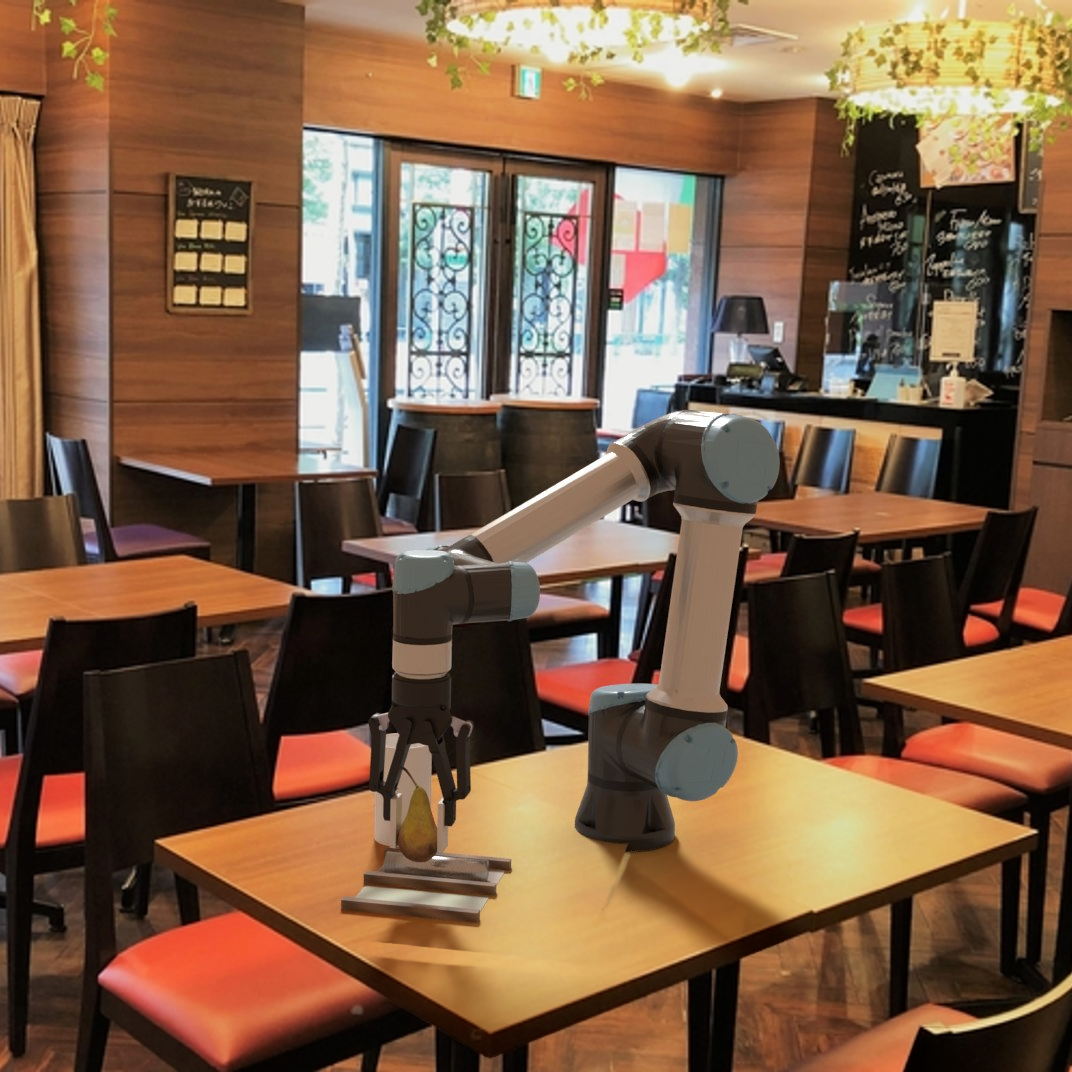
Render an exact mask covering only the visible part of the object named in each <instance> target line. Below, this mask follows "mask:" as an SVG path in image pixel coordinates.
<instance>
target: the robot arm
mask: <svg viewBox="0 0 1072 1072" xmlns="http://www.w3.org/2000/svg"><path fill="white" fill-rule="evenodd" d="M780 463H781V462H780V453H779V449H778V446H777V442H776V441H775V439H774V437H773V436H772V434H771V433H770V431H769V430H768V428H766V426H764V425H763V424H762V423H761V422H760V421H757V420H755V419H753V418H750V417H746V416H743V415H739V414H736V413H722V412H713V411H712V412H711V411H710V412H708V411H700V410H695V409H694V410H692V409H684V410H683V409H682V410H677V411H672V412H669V413H666V414H664V415H661V416H659V417H657V418H655V419H653V420H651V421H649V422H647V423H645V424H642V425H641V426H639V427H638V428H636V429H634V430H632V431H630V432H629V433H627V434H624V435H623V436H622V437H620V438H619V439H618V438H617V440H615V441H613V442H612V443H610V444H608V446H607V450H606V454H604V455H603V456H601V457H600V458H598V459H596V460H595V461H593V462H591V463H590V464H588V465H587V466H585V467H583V468H582V469H579V470H578V471H576V472H575V473H572V474H571V475H570V476H568V477H566V478H564V479H563V480H560V481H559V482H558V483H555V484H554V485H552V486H550V487H549V488H547V489H545V490H544V491H542V492H540V493H539V494H537V495H535V496H533V497H532V498H530V499H528V500H526V501H524V502H523V503H522V504H520V505H518V506H516V507H514V508H513V509H512V510H510V511H508V512H506V513H505V514H503V515H501V516H499V517H498V518H496V519H494V520H492V521H491V522H489V523H487V524H486V525H483V526H482V527H481V528H478V530H476V531H474V532H473V533H470V534H469V535H467V536H465V537H463V538H462V539H459V540H458V541H456V542H454V543H452V544H450V545H446V544H444V545H443V544H441V545H433V546H429V547H427V548H426V549H414V550H406V551H403V552H400V553H399V554H398V555H397V557H396V558H395V561H394V568H393V580H392V586H391V589H392V596H393V598H392V602H393V603H392V606H393V608H392V609H393V612H392V614H393V615H392V616H393V618H392V619H393V620H392V621H393V623H392V624H393V625H392V626H393V627H392V628H393V631H392V661H391V662H392V663H391V664H392V665H391V666H392V669H393V670H394V671H395V672H394V673H393V674H392V677H391V680H392V681H391V706H390V708H389V710H388V712H385V713H381V712H376V713H374V714H373V715H372V716H371V717H369V719H368V720H367V723H368V726H369V730H370V735H371V744H370V746H371V748H370V765H369V778H368V779H369V781H368V783H369V784H368V789H369V791H371V792H372V793H375V792H378V793H380V794H381V795H382V796H383V818H384V820H385V821H390V846H389V848H398V847H397V846H398V841H397V838H398V832H399V829H400V827H401V825H402V793H396V794H395V791H396V790H397V789H398V788H397V786H398V783H399V780H400V777H401V774H402V770H403V767H404V764H405V761H406V757H407V754H408V751H409V748H410V746H411V744H416V743H420V744H423V745H428V748H429V751H430V753H431V754H432V761H433V765H434V769H435V772H436V776H437V779H438V784H439V787H440V791H441V795H442V797H441V799H440V800H439V801H438V803H437V824H436V826H437V852H439V853H445V850H446V849H447V848H448V844H449V827H452V826H453V825H454V824H455V822H456V820H457V801H460V800H461V801H462V800H465V799H466V798H467V797H468V796H469V794H470V793H471V790H472V787H471V786H472V785H471V784H472V781H471V739H470V738H471V735H472V733H473V729H474V728H475V724H474V721H473V720H471V719H468V720H466V721H465V720H463V719H460V718H458V717H456V716H455V713H454V712H453V710H452V706H451V700H452V698H451V697H452V691H451V690H452V675H451V674H450V673H449V671H450V670H451V669H452V655H453V653H452V647H453V643H452V642H453V625H462V624H470V623H471V624H473V623H486V622H487V623H488V622H505V621H507V622H512V621H515V620H521V619H527V618H529V617H531V616H533V615H534V614H535V612H536V611H537V609H538V607H539V604H540V599H541V597H540V594H541V585H540V581H539V580H540V579H539V577H538V574H537V572H536V570H535V569H534V567H533V566H532V565H531V564H530V563H529V562H530V561H532V560H534V559H535V558H537V557H539V556H540V555H542V554H544V553H545V552H548V551H549V550H551V549H552V548H555V546H557V545H559V544H561V543H562V542H564V541H566V540H567V539H569V538H571V537H573V536H574V535H575V534H577V533H579V532H581V531H583V530H584V529H587V528H588V527H589V526H591V525H593V524H594V523H597V522H598V521H599V520H602V519H603V518H604V517H606V516H607V515H609V514H611V513H613V512H614V511H616V510H618V509H619V508H621V507H623V506H624V505H626V504H627V503H629V502H631V501H636V502H645V501H646V500H648V499H649V498H651V497H653V496H655V495H657V494H659V493H663V492H667V491H674V496H673V502H672V505H673V507H674V508H675V510H676V511H677V512H678V513H679V515H680V516H681V517H680V518H681V522H680V523H681V524H680V530H679V531H680V532H679V539H678V546H677V550H676V551H677V552H676V559H675V565H674V572H673V581H672V588H671V593H670V595H671V596H670V603H669V609H668V617H667V623H666V630H665V631H666V632H665V638H664V645H663V653H662V658H661V665H660V666H661V668H660V672H659V680H658V684H656V683H620V684H610V685H604V686H600V687H597V688H596V689H595V690H593V691H592V693H591V694H590V698H589V705H588V712H587V715H588V737H587V738H588V744H587V745H588V746H587V747H588V748H587V781H586V787H585V789H584V792H583V796H582V798H581V801H580V804H579V806H578V809H577V812H576V815H575V818H574V829H575V830H576V831H577V832H578V833H579V834H581V835H583V836H585V837H587V838H590V839H592V840H595V841H600V842H605V843H611V844H619V845H626V847H625V849H624V852H645V851H651V850H652V851H653V850H656V849H660V848H664V847H665V846H668V845H670V844H671V843H672V842H673V841H674V840H675V837H676V836H675V835H676V823H675V819H674V818H675V817H674V815H673V812H672V808H671V804H670V800H669V798H668V796H669V797H671V798H677V799H680V800H682V801H686V802H700V801H703V800H706V799H708V798H711V797H712V796H714V795H716V794H717V792H718V791H719V790H720V789H721V788H724V787H725V785H726V784H727V783H728V782H729V780H730V779H731V778H732V775H733V773H734V771H735V768H736V766H737V763H738V762H737V761H738V754H739V752H738V745H737V741H736V739H735V738H734V737H733V734H732V732H731V731H730V730H729V729H727V727H726V724H727V716H728V708H729V707H728V704H727V703H726V702H725V700H724V699H723V698H722V697H721V693H720V691H721V690H720V688H721V682H722V676H723V675H722V674H723V669H724V662H725V655H726V647H727V641H728V640H727V639H728V636H729V635H728V634H729V633H728V632H729V627H730V619H731V612H732V604H733V599H734V591H735V585H736V578H737V571H738V570H737V569H738V564H739V555H740V549H741V542H742V535H743V528H744V526H745V525H746V524H747V523H748V522H749V521H751V520H752V519H754V517H756V515H757V508H758V502H759V501H760V500H762V499H764V498H765V497H766V496H767V495H768V494H769V493H768V492H769V491H770V490H772V489H773V488H774V486H775V485H776V483H777V479H778V477H779V473H780ZM389 723H390V724H391V725H392V726H393V728H394V729H395V731H396V733H398V734H399V738H398V741H397V744H396V750H395V753H394V757H393V760H392V763H391V766H390V770H389V773H388V776H387V779H386V782H385V781H384V764H385V746H386V735H387V729H389V726H390V725H389ZM450 727H452V729H453V735H454V737H456V743H455V751H456V752H455V754H456V756H455V758H456V763H455V764H456V783H455V779H454V775H453V772H452V769H451V765H450V761H449V757H448V753H447V749H446V742H445V738H444V735H445V733H446V732H447V731H448V729H449V728H450Z"/></svg>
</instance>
